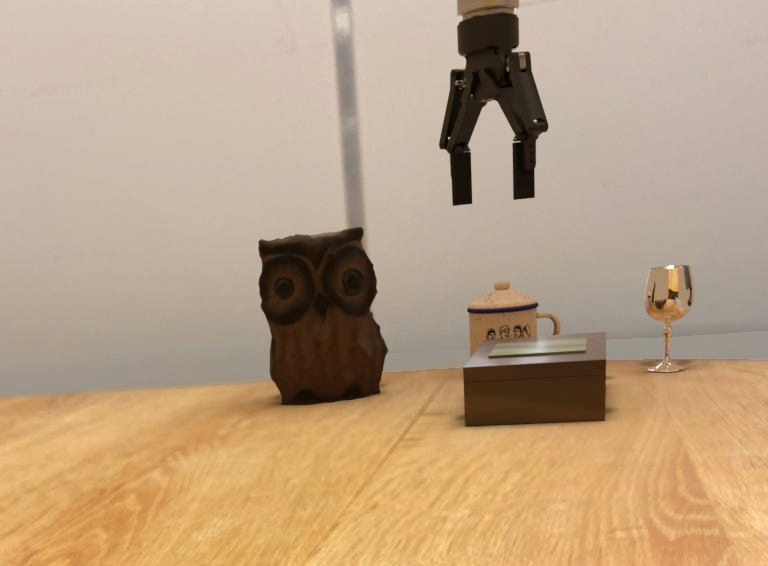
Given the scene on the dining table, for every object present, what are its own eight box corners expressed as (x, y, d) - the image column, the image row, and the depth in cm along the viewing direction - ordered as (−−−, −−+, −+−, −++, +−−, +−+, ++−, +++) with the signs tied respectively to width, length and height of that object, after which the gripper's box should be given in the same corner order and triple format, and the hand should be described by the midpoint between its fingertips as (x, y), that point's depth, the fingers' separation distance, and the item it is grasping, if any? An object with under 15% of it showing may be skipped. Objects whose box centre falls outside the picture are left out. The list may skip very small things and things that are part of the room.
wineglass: (688, 364, 133) (692, 263, 129) (693, 371, 128) (698, 266, 124) (640, 367, 135) (643, 267, 130) (643, 374, 130) (646, 270, 125)
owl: (394, 391, 136) (384, 224, 129) (327, 409, 128) (313, 232, 120) (321, 387, 144) (309, 230, 137) (255, 404, 136) (237, 239, 129)
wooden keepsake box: (485, 390, 130) (484, 338, 128) (604, 383, 126) (605, 330, 124) (464, 426, 110) (462, 365, 108) (605, 420, 107) (606, 357, 104)
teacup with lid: (475, 381, 137) (473, 286, 132) (463, 372, 145) (460, 282, 141) (568, 372, 136) (569, 277, 132) (551, 363, 145) (551, 273, 141)
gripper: (408, 37, 140) (416, 209, 148) (525, -6, 119) (527, 198, 127) (456, 35, 143) (462, 204, 151) (578, -7, 122) (577, 193, 129)
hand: (492, 202), depth 139 cm, fingers open, 13 cm apart
